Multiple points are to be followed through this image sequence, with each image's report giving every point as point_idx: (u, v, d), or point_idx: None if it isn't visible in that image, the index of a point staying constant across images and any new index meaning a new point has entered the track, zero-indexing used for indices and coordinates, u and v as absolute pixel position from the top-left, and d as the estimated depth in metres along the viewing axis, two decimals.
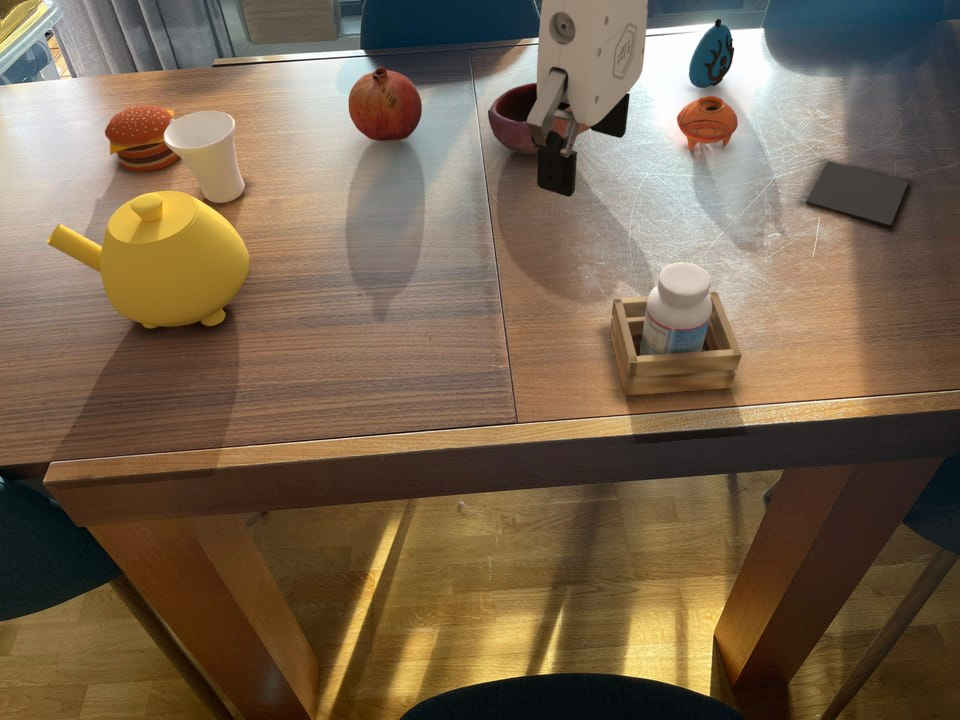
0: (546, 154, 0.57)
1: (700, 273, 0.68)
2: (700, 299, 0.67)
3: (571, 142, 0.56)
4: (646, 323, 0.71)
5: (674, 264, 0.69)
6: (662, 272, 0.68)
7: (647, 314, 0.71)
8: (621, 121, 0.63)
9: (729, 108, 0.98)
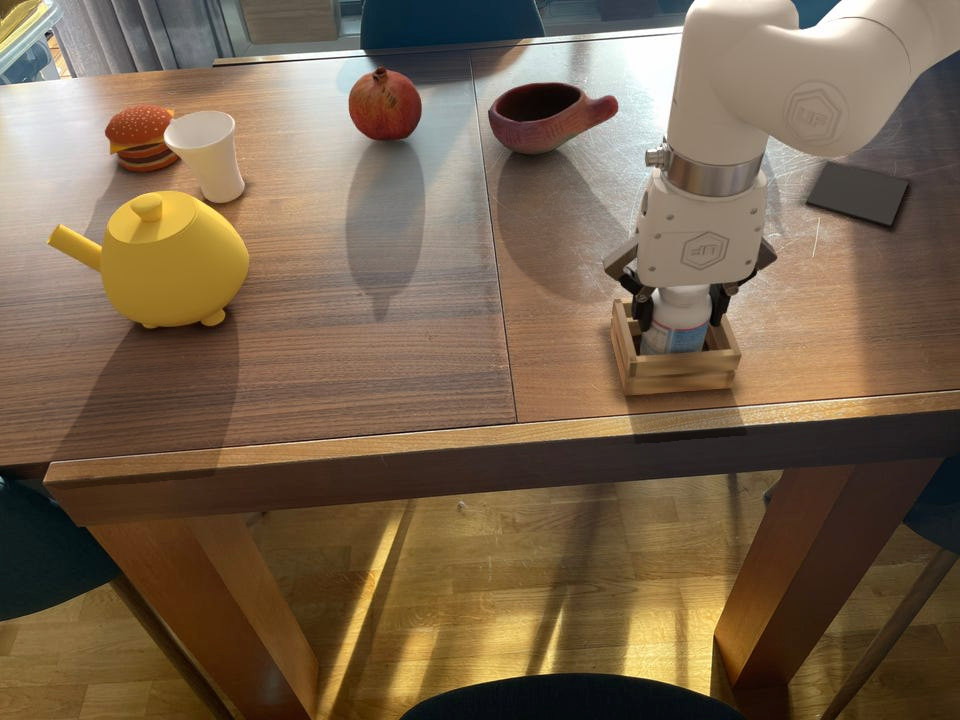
0: None
1: None
2: (700, 299, 0.67)
3: (646, 293, 0.67)
4: None
5: None
6: None
7: None
8: (715, 314, 0.69)
9: None
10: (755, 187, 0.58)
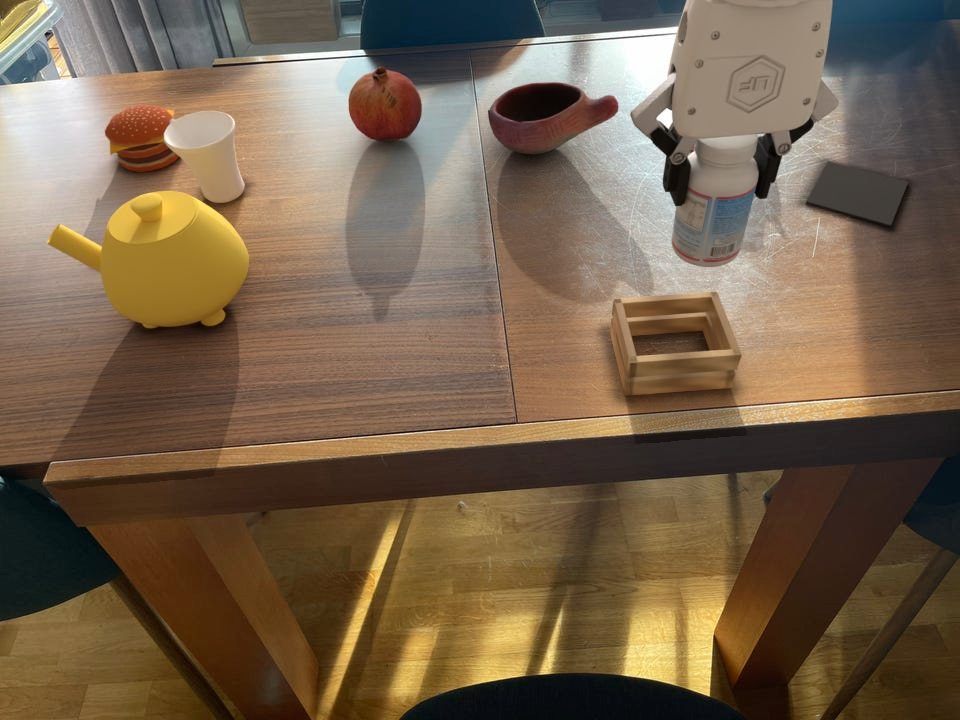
0: None
1: None
2: (746, 157, 0.57)
3: (683, 152, 0.57)
4: None
5: None
6: None
7: None
8: (762, 181, 0.59)
9: None
10: None
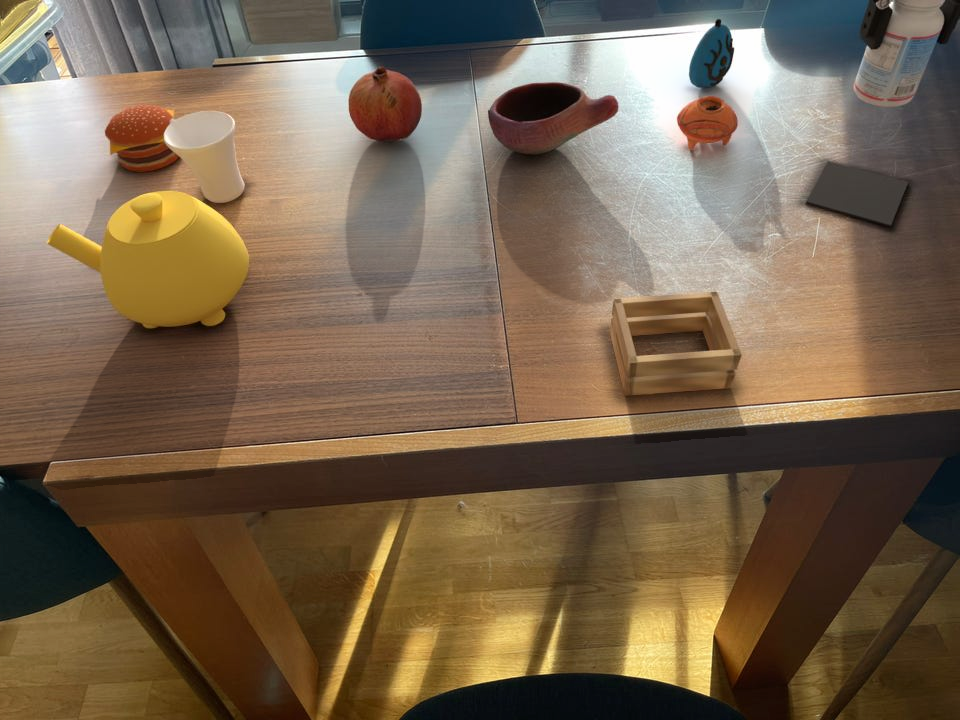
0: (870, 3, 0.72)
1: None
2: (940, 2, 0.70)
3: None
4: None
5: None
6: None
7: None
8: (946, 27, 0.72)
9: (729, 108, 0.98)
10: None
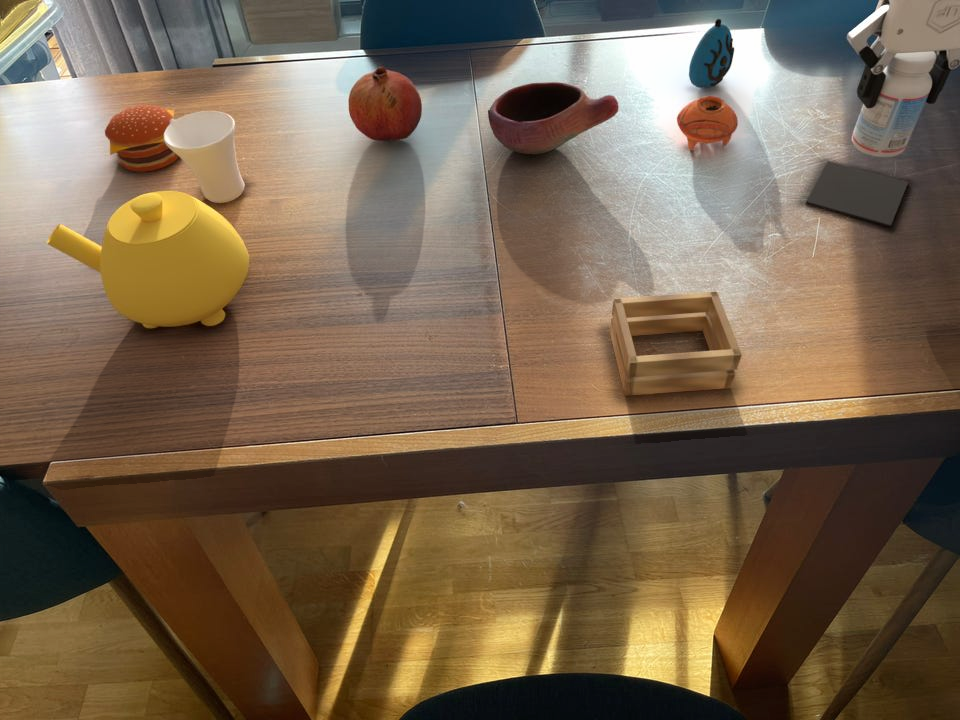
0: (866, 68, 0.81)
1: None
2: (928, 69, 0.78)
3: (882, 64, 0.78)
4: None
5: None
6: None
7: None
8: (933, 90, 0.81)
9: (729, 108, 0.98)
10: None
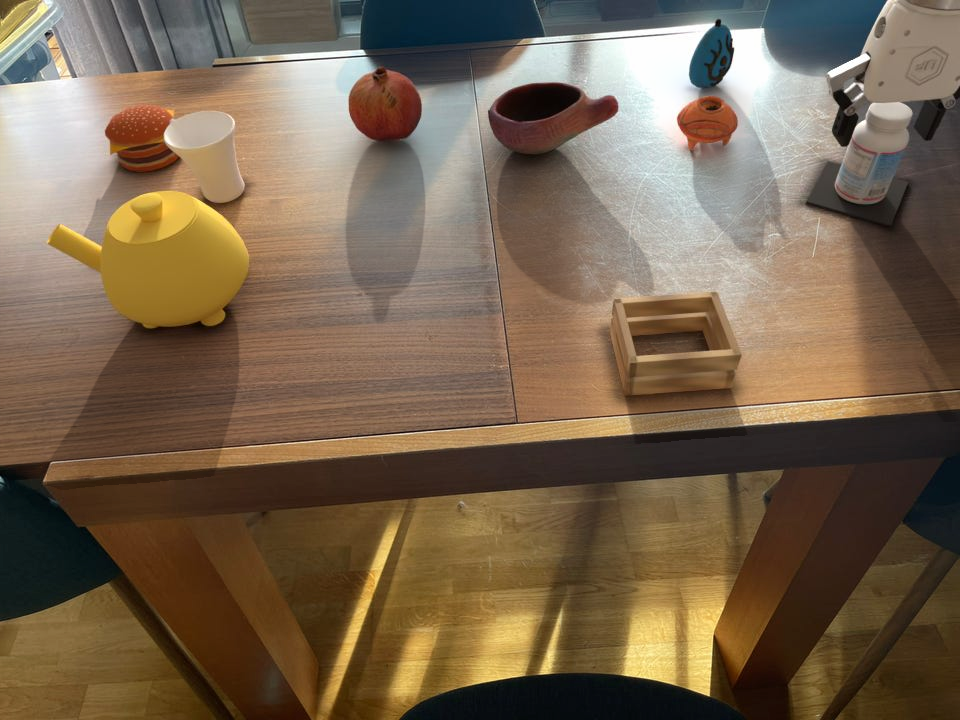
0: (840, 109, 0.84)
1: (902, 106, 0.84)
2: (905, 125, 0.83)
3: (856, 107, 0.82)
4: (850, 154, 0.88)
5: None
6: (871, 106, 0.85)
7: (853, 145, 0.87)
8: (930, 127, 0.84)
9: (729, 108, 0.98)
10: None
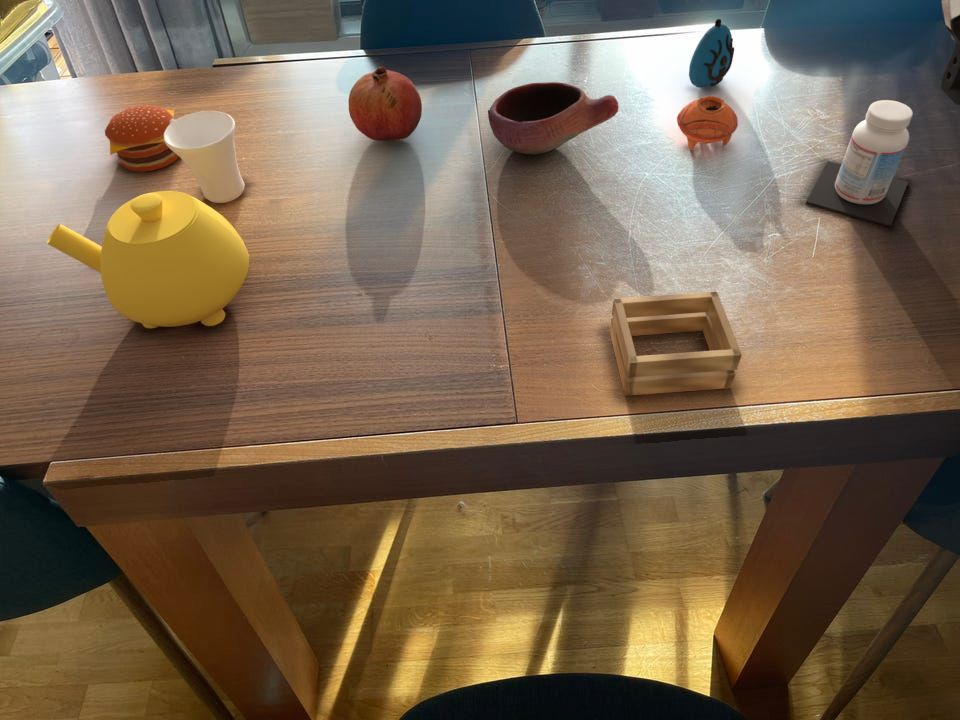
0: (957, 47, 0.56)
1: (902, 106, 0.84)
2: (905, 125, 0.83)
3: None
4: (850, 154, 0.88)
5: (879, 101, 0.85)
6: (871, 106, 0.85)
7: (853, 145, 0.87)
8: None
9: (729, 108, 0.98)
10: None
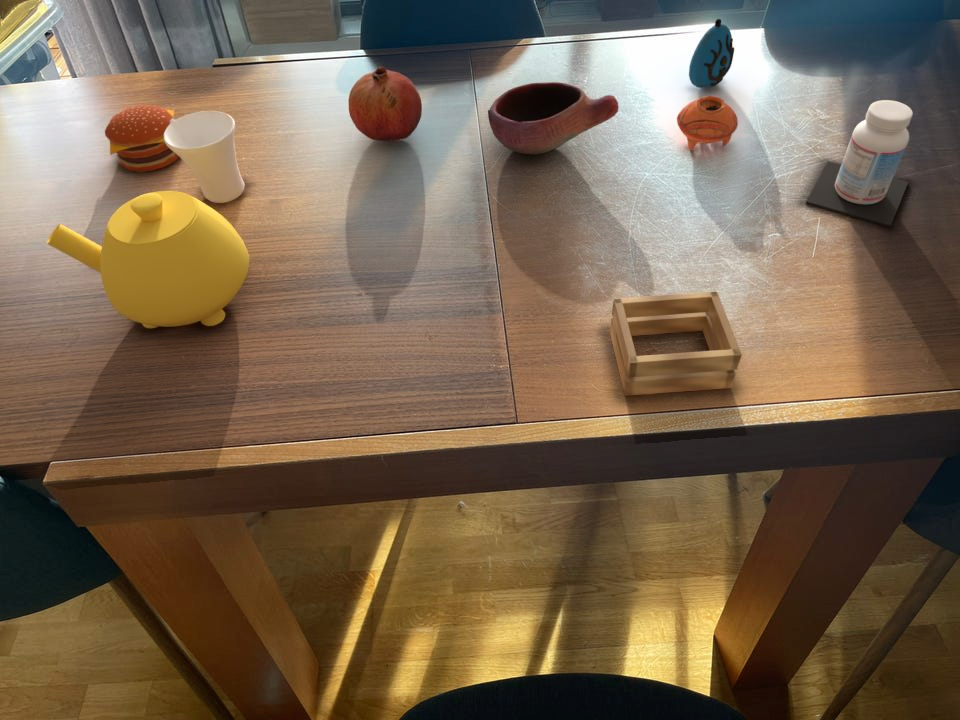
0: None
1: (902, 106, 0.84)
2: (905, 125, 0.83)
3: None
4: (850, 154, 0.88)
5: (879, 101, 0.85)
6: (871, 106, 0.85)
7: (853, 145, 0.87)
8: None
9: (729, 108, 0.98)
10: None
